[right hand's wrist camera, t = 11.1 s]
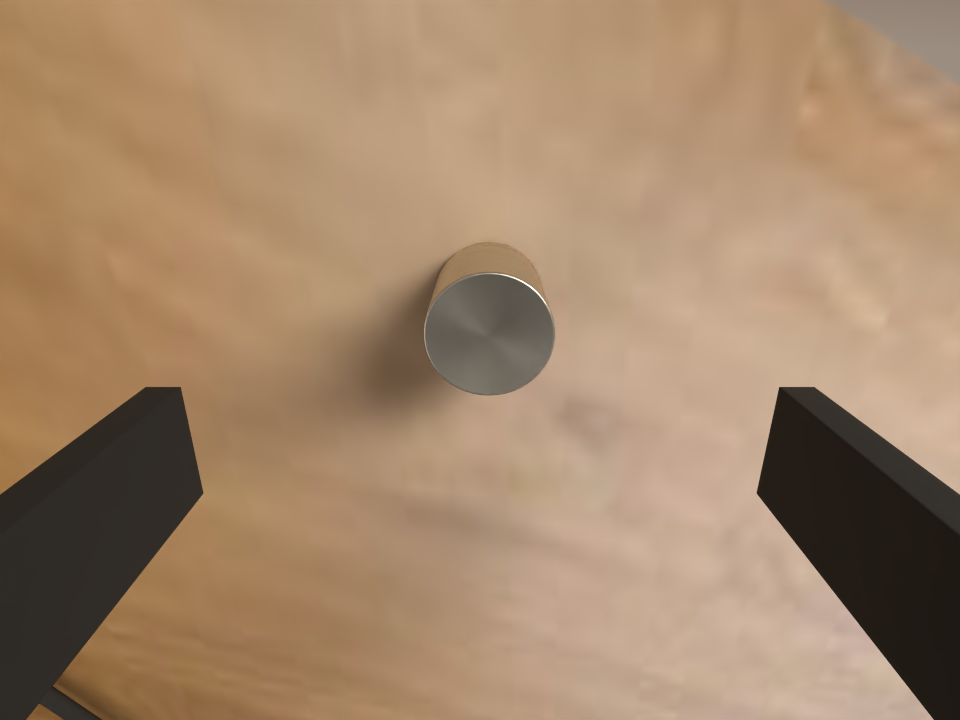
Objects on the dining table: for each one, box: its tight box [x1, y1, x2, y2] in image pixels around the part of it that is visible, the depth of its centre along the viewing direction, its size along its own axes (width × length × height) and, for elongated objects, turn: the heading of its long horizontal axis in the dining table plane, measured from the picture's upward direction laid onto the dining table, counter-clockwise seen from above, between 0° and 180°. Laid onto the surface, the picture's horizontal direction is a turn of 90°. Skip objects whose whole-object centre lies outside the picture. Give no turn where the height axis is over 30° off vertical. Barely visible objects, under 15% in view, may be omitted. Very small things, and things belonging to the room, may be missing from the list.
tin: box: [423, 243, 555, 395], centre depth 18 cm, size 4×4×4 cm
